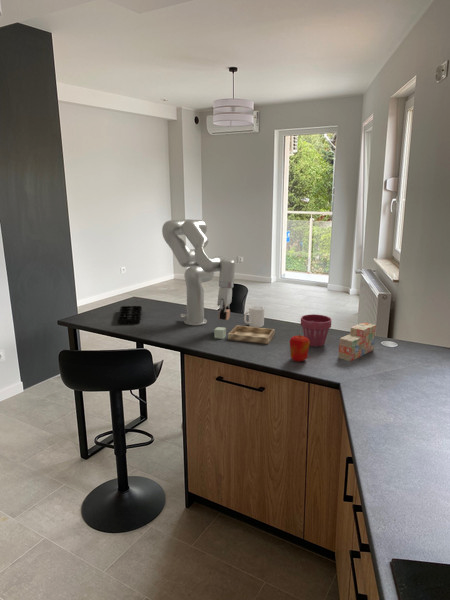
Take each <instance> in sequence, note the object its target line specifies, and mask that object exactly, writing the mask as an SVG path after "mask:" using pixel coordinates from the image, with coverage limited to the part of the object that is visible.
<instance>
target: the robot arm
mask: <svg viewBox="0 0 450 600" xmlns="http://www.w3.org/2000/svg"><path fill="white" fill-rule="evenodd" d="M207 229H208V227H207V224H206V223H205V221H203V220H202V219H184V218H182V219H170V220H166V221H165V222H164V223H163V225H162V228H161V232H162V233H161V234H162V237H163V239H164V241H165V243H166V244H167V246H168V247H169V248H170V249H171V251H172V253H173V255H174V257H175V259H176V260H177V262H178V263H179V265H180V266H181V267H182V268H187V269H185V271H184V282H185V286H186V287H185V289H186V314H185V313H180V319H184V320H183V323H184V324H185V325H187V326H203V325H206V324H207V322H208V321H207V319H206V318H205V292H204V291H205V290H204V288H203V286H202V284H203V283H206V282H210V281H212V280H213V279H214V277H215V273H217V272H219V279H218V288H219V289H218V295H217V304H216V305H217V307H219V310H220V319H219V320H222V319H223V320H224V321H226V320H225V319H226V309H229V310H230V304H231V303H232V300H233V299H232V297H233V288H234V283H235V271H236V263H235V260H233V259H229V258H225V257H223V256H213V257H208V255H207V254H206V253H205V251H204V249H205V248H206V247H207V245H208V244H209V239H208V238H207V236H206V235H205V234H206V233H207V231H208V230H207ZM183 235H184V236H185V237H186V239H187V240H188V241H189V242H190V244H191V246H193V249H191V248H189V247H188V245H187V244H186V242H185V241H184V240H183V239H182V238H181V237H179V236H183Z"/></svg>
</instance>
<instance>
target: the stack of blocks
mask: <svg viewBox="0 0 450 600" xmlns="http://www.w3.org/2000/svg"><path fill="white" fill-rule="evenodd" d="M376 327H377V325H376V324H374V323H368V322H362V323H358V324H356V325H353V326H351V327H350V331H349V334H347V335H344V336H342V337H340V338H339V345H338V353H337V354H338V355H337V357H338V359H341V360H345V361H347V362H352V361H354V360H357V359H359V358H361V357H362V356H364V355H366V354H369V353H371V352H373V351H374V349H375V338H376V331H377V330H376Z"/></svg>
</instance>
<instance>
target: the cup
mask: <svg viewBox="0 0 450 600" xmlns="http://www.w3.org/2000/svg"><path fill="white" fill-rule="evenodd" d="M247 315H248V321H247ZM243 317H244V318H243V319H244V323H245V324H246V325H248V327H257V328H264V325H265V307H264V306H262V305H261V306H260V305H250V306H249V307H248V310H247V311H246V312H245V313H244V316H243Z"/></svg>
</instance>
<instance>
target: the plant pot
mask: <svg viewBox="0 0 450 600" xmlns="http://www.w3.org/2000/svg"><path fill="white" fill-rule="evenodd" d="M300 326H301V327H302V332H303V336H304V337H307V338H308V339H309V341H310V344H309V347H314V348H315V347H323V346H325V344H326V340H327V336H328V335H329V334H328V333H329V330H330V329H331V328H332V318H331V317H329V316H327V315H323V314H315V313H314V314H305V315H302V316H301V317H300Z"/></svg>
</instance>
